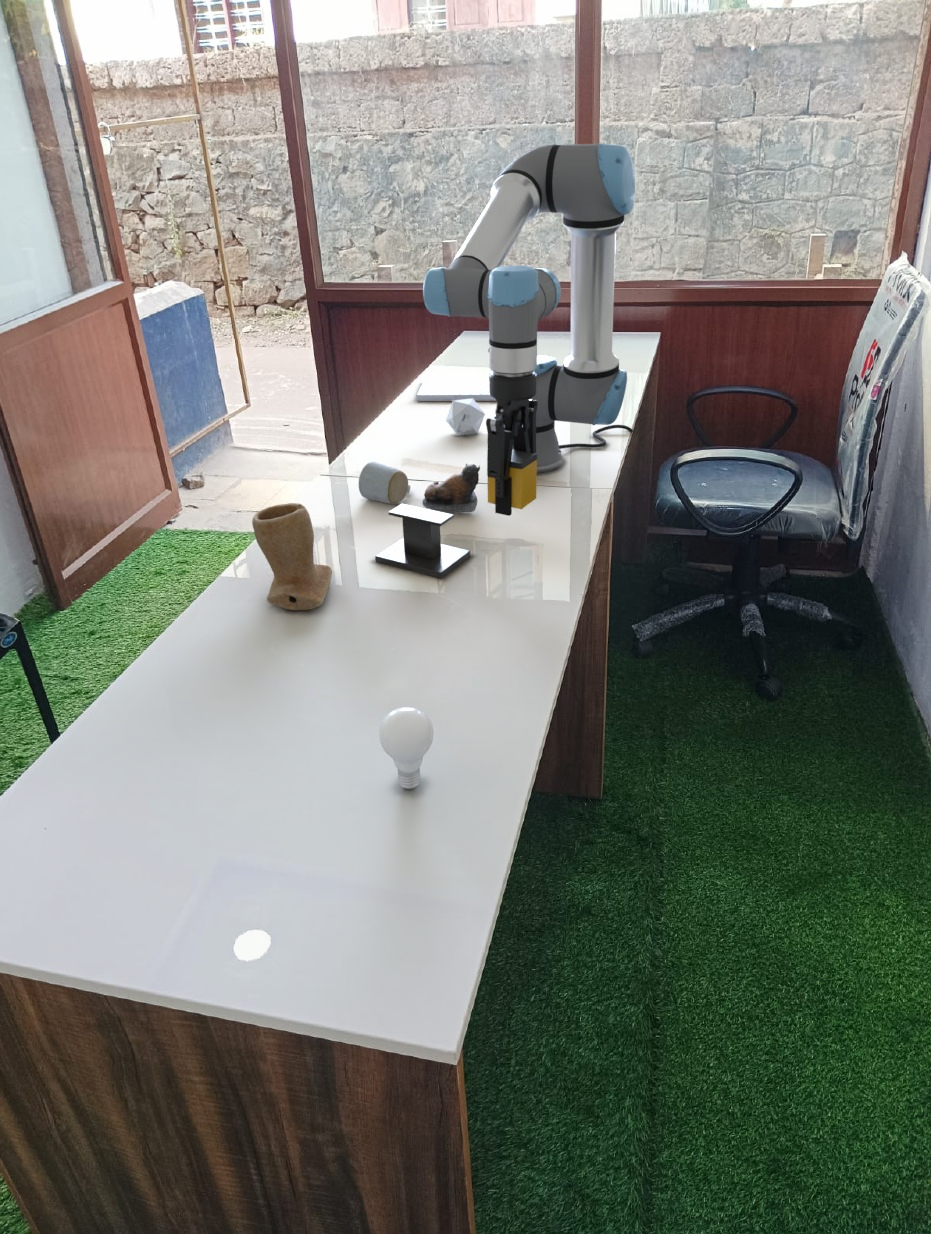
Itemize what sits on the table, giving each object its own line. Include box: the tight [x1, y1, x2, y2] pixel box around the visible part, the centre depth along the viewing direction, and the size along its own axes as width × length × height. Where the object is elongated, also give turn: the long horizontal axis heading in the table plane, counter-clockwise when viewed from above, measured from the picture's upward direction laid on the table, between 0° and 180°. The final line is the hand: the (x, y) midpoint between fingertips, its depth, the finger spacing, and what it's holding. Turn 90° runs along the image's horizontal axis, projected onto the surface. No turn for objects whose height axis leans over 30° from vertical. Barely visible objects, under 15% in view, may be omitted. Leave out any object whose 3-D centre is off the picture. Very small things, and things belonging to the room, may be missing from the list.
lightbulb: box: [378, 706, 434, 790], centre depth 108 cm, size 6×6×11 cm
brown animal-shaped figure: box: [421, 463, 481, 513], centre depth 182 cm, size 12×7×10 cm, turn 72°
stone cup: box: [251, 502, 333, 611], centre depth 152 cm, size 15×12×15 cm
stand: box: [374, 503, 471, 579], centre depth 163 cm, size 10×14×9 cm
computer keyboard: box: [416, 380, 497, 402], centre depth 258 cm, size 43×19×2 cm, turn 85°
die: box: [445, 398, 486, 437], centre depth 225 cm, size 8×9×10 cm
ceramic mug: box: [358, 461, 411, 505], centre depth 189 cm, size 11×8×8 cm
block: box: [487, 450, 538, 510], centre depth 154 cm, size 6×6×8 cm
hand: (512, 507), depth 156 cm, fingers closed on block, 5 cm apart
